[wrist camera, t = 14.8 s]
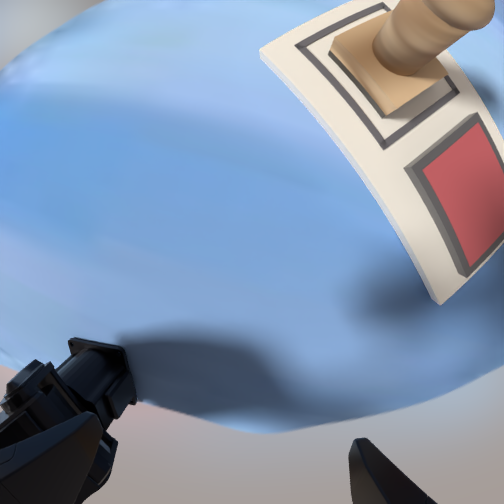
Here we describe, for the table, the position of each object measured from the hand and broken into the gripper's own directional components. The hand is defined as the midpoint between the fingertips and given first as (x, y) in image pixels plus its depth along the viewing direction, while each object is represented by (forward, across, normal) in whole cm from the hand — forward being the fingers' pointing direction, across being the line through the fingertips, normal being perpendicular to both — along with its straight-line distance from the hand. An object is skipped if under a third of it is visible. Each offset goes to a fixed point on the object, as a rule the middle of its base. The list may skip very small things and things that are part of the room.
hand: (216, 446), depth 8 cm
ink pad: (+12, -16, -9) cm, 21 cm away
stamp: (+12, -9, -17) cm, 22 cm away
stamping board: (+13, -13, -13) cm, 22 cm away
